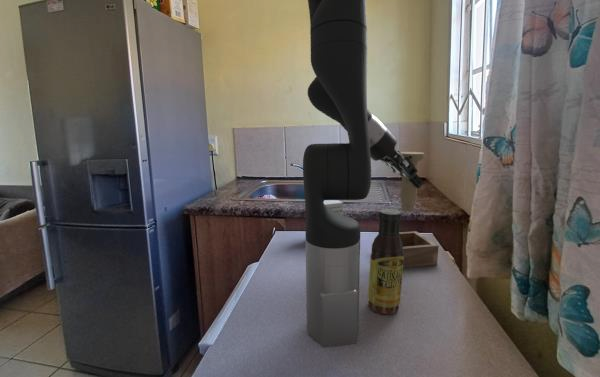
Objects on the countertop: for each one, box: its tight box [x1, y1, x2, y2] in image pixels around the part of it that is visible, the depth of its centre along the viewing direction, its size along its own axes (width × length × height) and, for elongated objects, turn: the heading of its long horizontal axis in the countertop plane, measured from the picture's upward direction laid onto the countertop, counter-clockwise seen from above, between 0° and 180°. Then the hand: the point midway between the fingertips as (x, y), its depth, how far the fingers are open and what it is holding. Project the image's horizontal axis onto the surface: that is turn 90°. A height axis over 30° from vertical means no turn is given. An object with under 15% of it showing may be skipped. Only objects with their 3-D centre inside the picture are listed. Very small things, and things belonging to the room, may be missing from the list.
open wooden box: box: [399, 230, 439, 268], centre depth 92 cm, size 11×11×5 cm
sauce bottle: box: [367, 208, 404, 315], centre depth 67 cm, size 6×6×20 cm
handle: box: [400, 151, 425, 213], centre depth 88 cm, size 5×6×15 cm
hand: (416, 183), depth 88 cm, fingers closed on handle, 3 cm apart
